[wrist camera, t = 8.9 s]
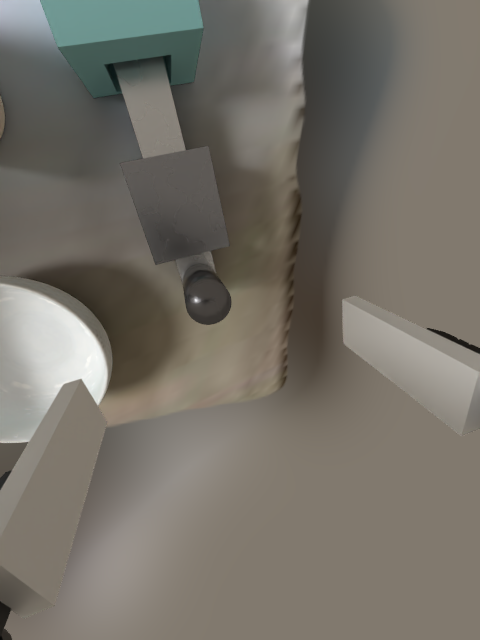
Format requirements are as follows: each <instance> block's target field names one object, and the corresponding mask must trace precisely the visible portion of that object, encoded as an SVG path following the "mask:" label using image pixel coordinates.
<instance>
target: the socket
mask: <svg viewBox="0 0 480 640" xmlns="http://www.w3.org/2000/svg"><path fill="white" fill-rule="evenodd" d="M40 2H41V5H42V7H43V10H44V12H45V15H46V18H47V20H48V23H49V26H50V28H51V31H52V34H53V36H54V39H55V41H56V44H57V47H58V48H59V50H60V51H61V53H62V54H63V55H64V57H65V58H66V60H67V61H68V62H69V64H70V65H71V67H72V68H73V70H74V71H75V72H76V74H77V75H78V77H79V78H80V79H81V81H82V82H83V84H84V85H85V86H86V88H87V89H88V91H89V92H90V94H91V95H92V96H93V98H97V97H103V96H109V95H116V94H122V90H121V87H120V84H119V80H118V77H117V74H116V71H115V68H114V64H113V63H117V62H124V61H131V60H138V59H145V58H152V57H159V56H163V60H164V64H165V68H166V72H167V76H168V80H169V84H170V86H172V85H178V84H184V83H190V82H194V78H195V73H196V67H197V61H198V56H199V50H200V45H201V39H202V33H203V22H202V17H201V12H200V7H199V1H198V0H40Z"/></svg>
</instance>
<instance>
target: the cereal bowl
mask: <svg viewBox="0 0 480 640" xmlns="http://www.w3.org/2000/svg"><path fill="white" fill-rule="evenodd" d="M112 358H113V356H112V348H111V345H110V341H109V338H108V336H107V333H106V332H105V330H104V328H103V326H102V325H101V323H100V322H99V320H98V319H97V318H96V316H95V315H94V314H93V313H92V312H91V310H89V309H88V308H87V307H86V306H85V305H84V304H83V303H81V302H80V301H79V300H77V299H76V298H74V297H72V296H71V295H70V294H68V293H65V292H64V291H62V290H60V289H58V288H55V287H53V286H50V285H48V284H45V283H42V282H38V281H35V280H30V279H25V278H19V277H8V276H0V443H17V442H29V441H30V440H31V438H32V436H33V435H34V433H35V431H36V429H37V428H38V426H39V424H40V423H41V421H42V419H43V418H44V416H45V414H46V413H47V411H48V409H49V408H50V406H51V404H52V403H53V401H54V399H55V398H56V396H57V394H58V392H59V391H60V389H61V387H62V386H63V384H65V383H68V382H72V381H75V380H78V379H82V381H83V382H84V384H85V385H86V387H87V389H88V390H89V392H90V394H91V395H92V397H93V399H94V400H95V402H96V404H97V405H98V406H99V404H100V403H101V401H102V399H103V398H104V396H105V394H106V391H107V389H108V385H109V383H110V378H111V372H112V364H113V360H112Z"/></svg>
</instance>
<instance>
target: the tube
mask: <svg viewBox="0 0 480 640" xmlns="http://www.w3.org/2000/svg"><path fill="white" fill-rule="evenodd" d="M113 64H114V68H115V71H116V74H117V77H118V80H119V84H120V87H121V90H122V93H123V96H124V99H125V103H126V106H127V109H128V112H129V115H130V119H131V122H132V125H133V128H134V131H135V134H136V138H137V141H138V144H139V147H140V150H141V154H142V157H143V158H148V157H154V156H159V155H164V154H169V153H174V152H179V151H184V150H186V149H185V145H184V141H183V137H182V133H181V129H180V125H179V121H178V117H177V113H176V109H175V105H174V101H173V97H172V93H171V89H170V84H169V80H168V76H167V72H166V68H165V64H164V60H163V56H159V57H152V58H145V59H138V60H131V61H124V62H117V63H113ZM175 262H176V265H177V268H178V271H179V274H180V278H181V281H182V284H183V289H184V296H185V303H186V309H187V312H188V314H189V315H190V317H191V318H192V319H193V320H195V321H196V322H198V323H201V324H206V325H210V324H215V323H218V322H220V321H221V320H223V319H224V318H225V317H226V316H227V314H228V313H229V311H230V308H231V297H230V294H229V292H228V290H227V289H226V287H225V286H224V285H223V283H222V282H221V280H220V279H219V277H218V276H217V274H216V270H215V266H214V262H213V258H212V254H211V251H208V252H204V253H200V254H196V255H192V256H188V257H184V258H180V259H176V260H175Z"/></svg>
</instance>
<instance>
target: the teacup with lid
mask: <svg viewBox="0 0 480 640" xmlns="http://www.w3.org/2000/svg"><path fill="white" fill-rule="evenodd" d="M4 125H5V112H4V106H3V102H2V99H1V96H0V139H1V137H2V134H3V131H4Z"/></svg>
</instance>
